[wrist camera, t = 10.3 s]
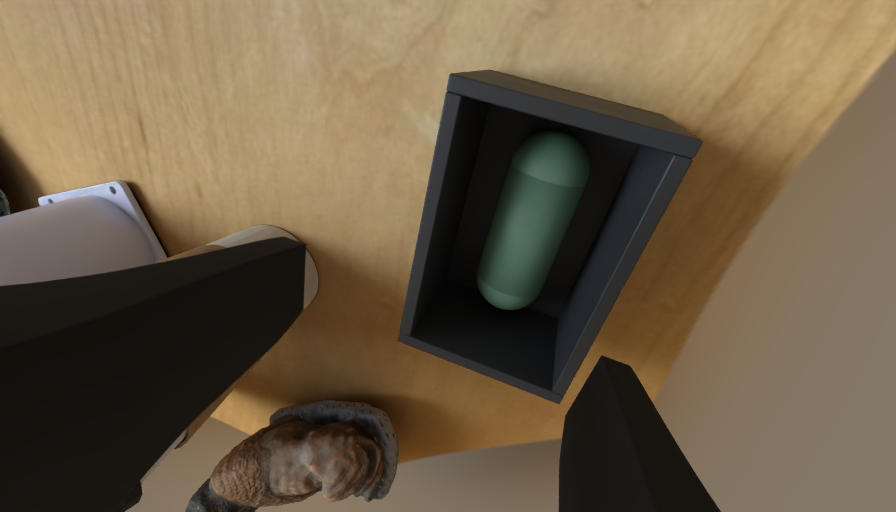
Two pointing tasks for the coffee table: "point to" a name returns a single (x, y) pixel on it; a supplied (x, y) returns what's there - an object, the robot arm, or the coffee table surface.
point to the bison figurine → (305, 459)
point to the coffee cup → (309, 293)
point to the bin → (583, 247)
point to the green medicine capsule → (532, 217)
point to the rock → (4, 205)
